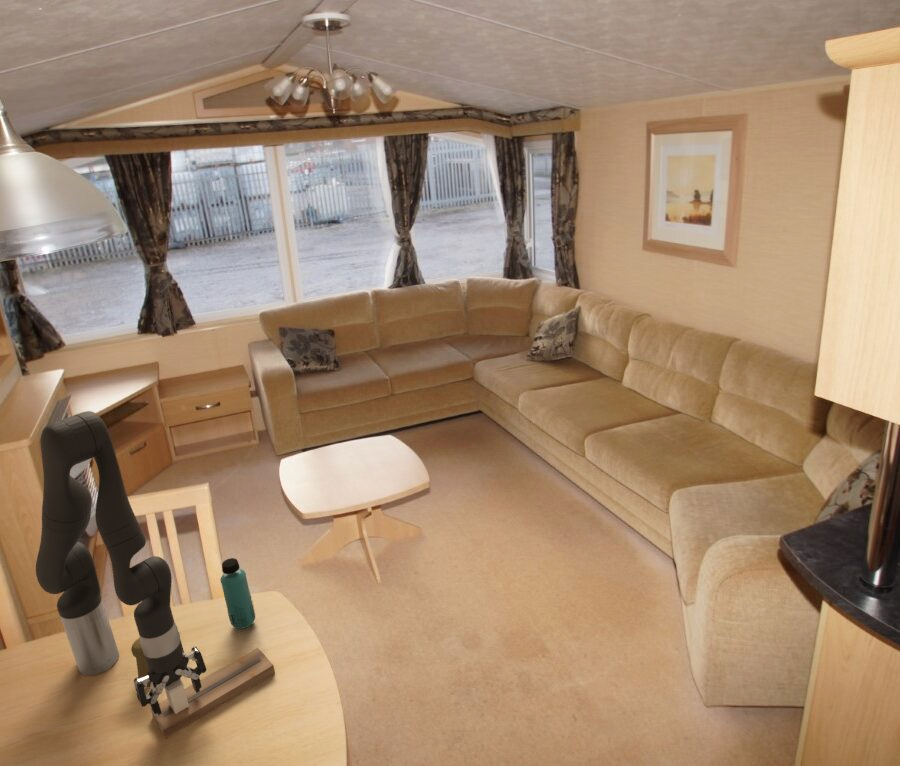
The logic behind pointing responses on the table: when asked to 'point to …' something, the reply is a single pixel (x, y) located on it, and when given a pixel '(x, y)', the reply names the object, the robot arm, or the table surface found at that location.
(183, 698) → the fader tab
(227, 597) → the beverage bottle
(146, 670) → the cork
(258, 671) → the console track
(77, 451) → the robot arm
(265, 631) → the table surface
